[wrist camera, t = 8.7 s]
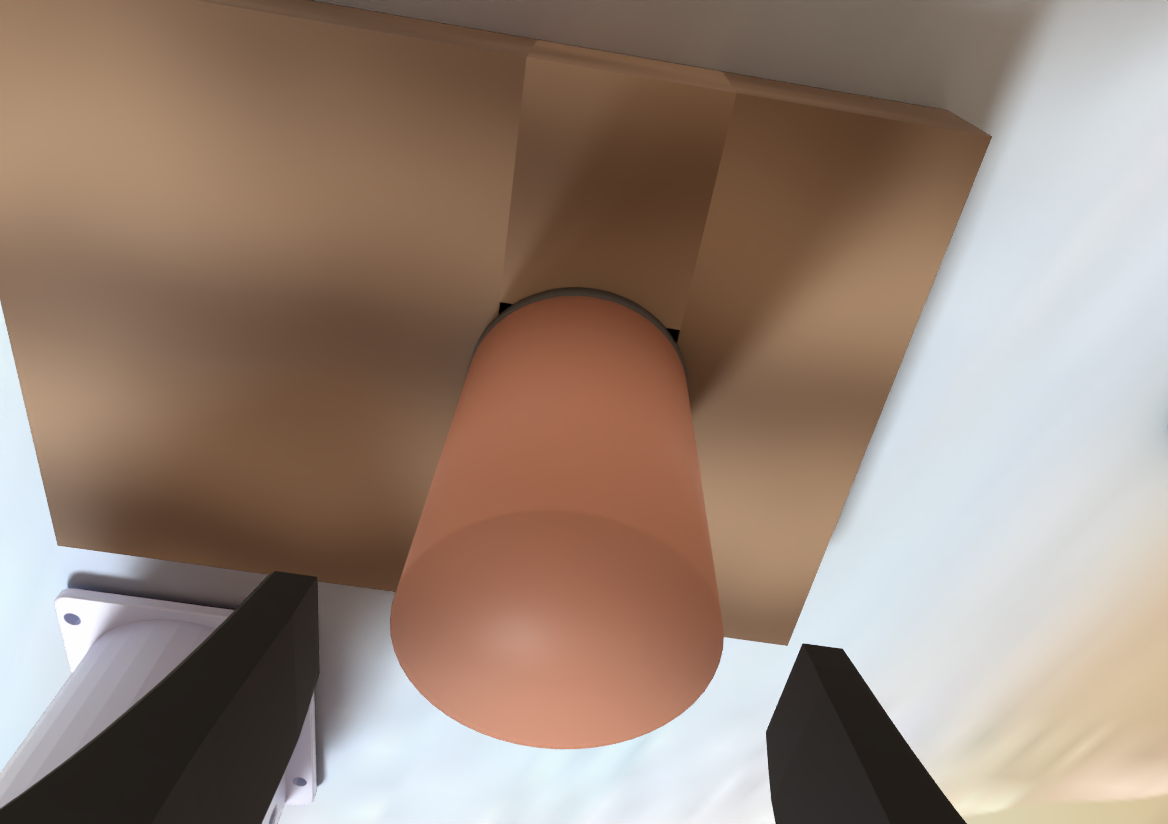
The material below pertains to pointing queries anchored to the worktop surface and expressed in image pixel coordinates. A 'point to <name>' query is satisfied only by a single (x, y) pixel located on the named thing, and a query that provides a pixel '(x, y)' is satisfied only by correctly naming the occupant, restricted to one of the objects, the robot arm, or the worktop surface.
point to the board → (433, 270)
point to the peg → (564, 534)
